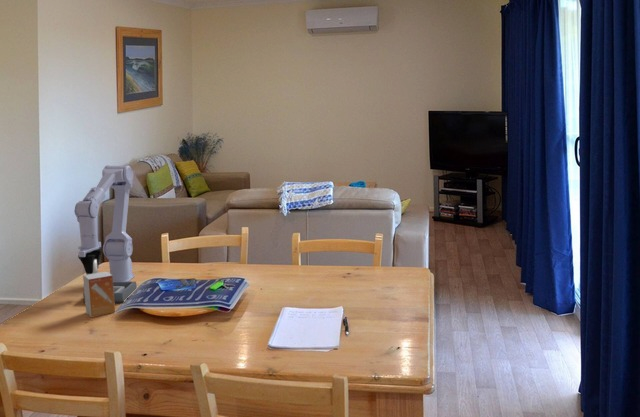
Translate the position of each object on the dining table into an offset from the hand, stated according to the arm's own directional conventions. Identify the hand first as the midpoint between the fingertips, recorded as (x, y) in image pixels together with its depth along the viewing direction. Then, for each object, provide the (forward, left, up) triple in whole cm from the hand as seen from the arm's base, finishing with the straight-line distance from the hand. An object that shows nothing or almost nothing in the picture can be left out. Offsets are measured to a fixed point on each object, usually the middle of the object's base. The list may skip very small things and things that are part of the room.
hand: (92, 271), depth 257 cm
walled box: (+1, +7, -9) cm, 11 cm away
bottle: (0, 0, -2) cm, 2 cm away
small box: (+18, +10, -9) cm, 22 cm away
